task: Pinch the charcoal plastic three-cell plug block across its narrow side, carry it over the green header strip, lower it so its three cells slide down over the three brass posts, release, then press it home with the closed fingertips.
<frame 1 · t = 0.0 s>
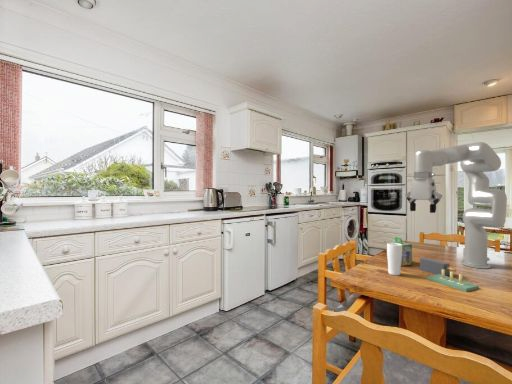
hand: (422, 211, 126), 31 cm above the table, fingers open, 9 cm apart
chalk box: (399, 263, 147), on the table
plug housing: (434, 272, 132), on the table
header strip: (451, 283, 116), on the table
white cup: (394, 274, 129), on the table
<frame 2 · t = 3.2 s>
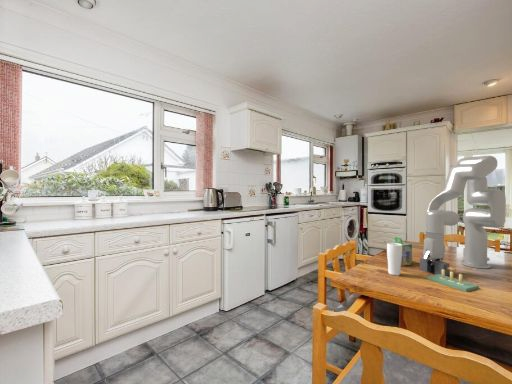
hand: (434, 271, 132), 1 cm above the table, fingers closed on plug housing, 4 cm apart
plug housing: (434, 272, 132), on the table, touching gripper
everything else where it was.
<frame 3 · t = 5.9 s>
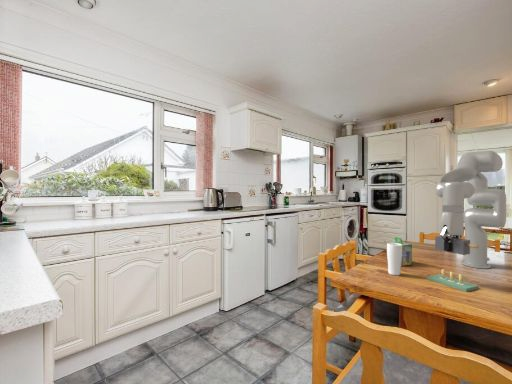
hand: (451, 250, 116), 15 cm above the table, fingers closed on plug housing, 4 cm apart
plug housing: (451, 251, 116), point 14 cm above the table, touching gripper
everything else where it was.
when the fingers open (3 cm above the table, at t = 8.7 s): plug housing stays where it is, resting on header strip.
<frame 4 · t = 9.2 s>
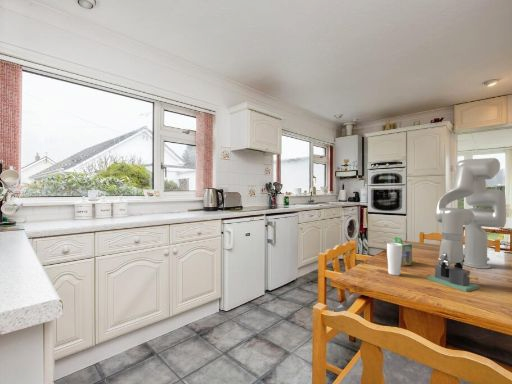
hand: (451, 275, 116), 4 cm above the table, fingers open, 9 cm apart
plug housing: (451, 280, 116), point 1 cm above the table, touching header strip
everything else where it was.
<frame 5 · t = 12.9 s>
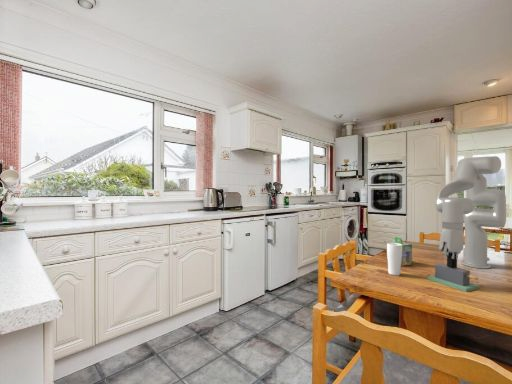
hand: (451, 267, 116), 7 cm above the table, fingers closed
nothing on the table moved.
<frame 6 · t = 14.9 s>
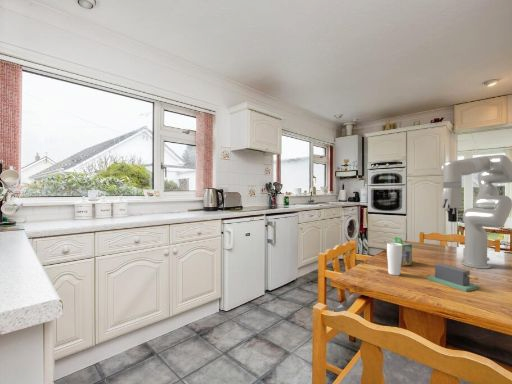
hand: (452, 221, 133), 26 cm above the table, fingers closed
nothing on the table moved.
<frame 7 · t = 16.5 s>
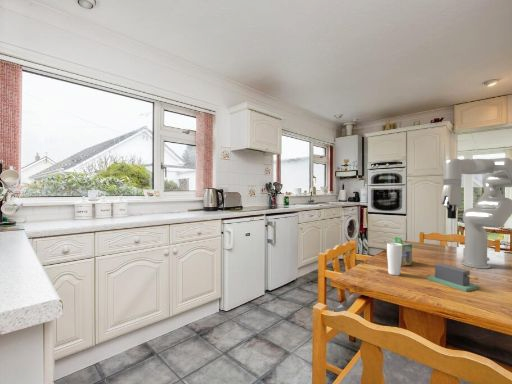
hand: (451, 218, 135), 27 cm above the table, fingers closed
nothing on the table moved.
at the end: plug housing 0.1 cm off-centre on the header strip, point 1.2 cm above the header strip's base; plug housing tilted 0°; the gripper is holding nothing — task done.
